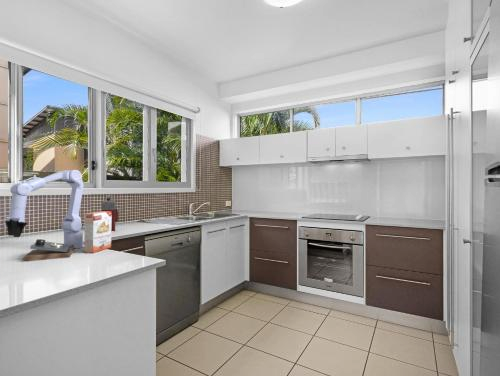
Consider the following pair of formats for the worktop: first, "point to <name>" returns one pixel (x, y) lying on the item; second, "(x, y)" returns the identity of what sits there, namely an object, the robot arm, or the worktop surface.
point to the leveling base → (47, 254)
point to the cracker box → (97, 231)
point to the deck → (50, 246)
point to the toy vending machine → (111, 207)
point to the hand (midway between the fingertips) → (14, 236)
